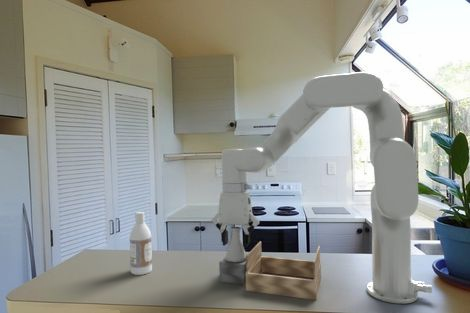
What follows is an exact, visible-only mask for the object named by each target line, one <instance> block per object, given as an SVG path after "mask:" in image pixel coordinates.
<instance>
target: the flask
mask: <svg viewBox="0 0 470 313" xmlns="http://www.w3.org/2000/svg"><path fill="white" fill-rule="evenodd" d="M241 229H242V227H241V226H239V225H233V226H230V230H231V236H230V241H229V244H228V249H227V252H226V254H225V259H226V261H230V262H244V261H245V260H246V255H247V252H246V250H245V247H244V246H243V240H242V238H241Z"/></svg>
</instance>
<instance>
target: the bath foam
mask: <svg viewBox="0 0 470 313" xmlns="http://www.w3.org/2000/svg"><path fill="white" fill-rule="evenodd" d="M134 217H135V224H134V226H133V227H132V229H131V231H130V233H129V234H130V235H129V252H130V254H129V255H130V261H129V262H130V273H131V274H132V275H134V276H142V275H146V274H149V273H151V272H152V270H153V252H152V250H153V248H152V246H153V245H152V232H151V230H150V229H149V228H150V227H149V226H148V225H147V223H146V222H145V219H146V218H145V211H137V212H135V216H134Z"/></svg>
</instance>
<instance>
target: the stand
mask: <svg viewBox="0 0 470 313" xmlns="http://www.w3.org/2000/svg"><path fill="white" fill-rule="evenodd" d="M225 257H226V256H225ZM225 257H223V258H222V259H221V260H220V261H219V262H218V263H219V268H218V269H219V282H222V283H228V284H237V285H243V286H244V285H245V286H246V260H245V261H244V262H230V261H226V259H225Z"/></svg>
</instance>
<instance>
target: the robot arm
mask: <svg viewBox="0 0 470 313" xmlns="http://www.w3.org/2000/svg"><path fill="white" fill-rule="evenodd" d="M346 107H347V108H348V107H353V108H354V109H356V110H359V111H361V112H362V113H363V114H364V115H365V117H366V119H367V123H368V133H369V144H370V145H369V160H370V163H371V165H372V167H373V174H374V175H373V176H374V185H373V186H372V188H371V191H370V209H371V210H370V211H371V232H372V233H371V255H372V256H371V257H372V259H371V260H372V262H371V263H372V264H371V265H372V266H371V267H372V280H371V281H369V282H368V283H367V285H366V292H367V293H368V294H369V295H370V296H371V297H373V298H376V299H378V300H380V301H382V302H387V303H392V304H398V305H401V304H403V305H406V304H412V303H414V302H416V301H417V300H418V298H419V292H422V293H428V294H432V293H433V290H432V289H433V287H432V285H431V284H425V282H424V281H415V280H414V279H413V278H412V259H411V258H412V255H411V254H412V252H411V251H412V250H411V248H412V247H411V245H412V244H411V243H412V242H411V240H412V237H411V235H412V233H411V232H412V231H411V229H412V228H411V227H412V226H411V217H412V216H413V215H414V214H415V212H416V211H417V209H418V207H419V183H418V182H419V181H418V179H419V178H418V165H417V157H416V153H415V151H414V149H413V146H411V145H410V143H408V142H407V141H406V140H405V130H404V121H403V115H402V111H401V110H402V109H401V107H400V105H399V103H398V102H397V100H396V98H394V96H393V95H392V94H391V93H390V92H389V91H387V90H386V89H384V83H383V81H382V80H381V78H380V77H379V76H378V75H376V74H375V73H373V72H367V71H359V72H358V71H357V72H350V73H340V74H331V75H330V74H329V75H321V76H316V77H313V78H311V79H310V80H309V81H307V83H305V85H304V87H303V90H302V94H301V95H300V96H299V97H298V98H297V99H296V100H295V101H294V102H293V103H292V104H291V105H290V106H289V107H288V108H287V109H286V110H285V111H284V112H283V113H282V114H281V116H279V118H278V120H277V122H276V125H275V128H274V129H273V131H272V132H271V133H270V134H269V136H268V137H267V138H266V139H265V140H264V141H263V142H262V143H261V144H260V145H259V146H258V147H251V148H250V147H249V148H244V149H242V148H226V149H223V150H222V151H221V182H222V184H221V185H222V190H221V191H222V192H220V195H219V201H218V212H217V214H216V215H214V216H213V217H212V219H211V222H212V223H213V224H214V225H215V227H216V228H217V229H218V230H219V233H220V234H221V235H220V236H221V239H220V240H221V243H222V246H223V247H224V246H226V245H227V244H228V243H229V231H228V227H229V226H242V227H241V228H242V230H243V232H244V233H243V234H242V237H243V238H242V244H243V247H244V248H247V247H248V246H249V244H250V243H251V235H250V234H251V232H252V231H254V229H255V228H256V227H257V226H258V225H259V224H260V220H259V219H258V218H257V217H256V216H255V215H254V214H253V208H252V200H251V195H250V192H249V191H248V190H251V187H252V186H251V184H248V182H247V173H252V174H253V173H254V174H256V173H257V174H258V173H260V172H264V171H266V170H269V169H270V168H271V167H272V166H273V165H274V164H275V163H276V162H277V161H278V160H279V159H281V157H282V156H283V155H284V154H285V153H286V152H287V151H288V150H289V149H290V148H291V147H292V146H293V145H294V144H296V143H297V142H298V141H299V140H300V138H301V137H302V136H304V134H306V132H308V131H309V129H310V128H312V126H313V125H314V124H315V123H317V121H319V120H320V119H321V118H322V117H323V115H325V114H326V113H327V111H329V110H330V109H332V108H346ZM249 223H252V224H251V225H250V224H249Z"/></svg>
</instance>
